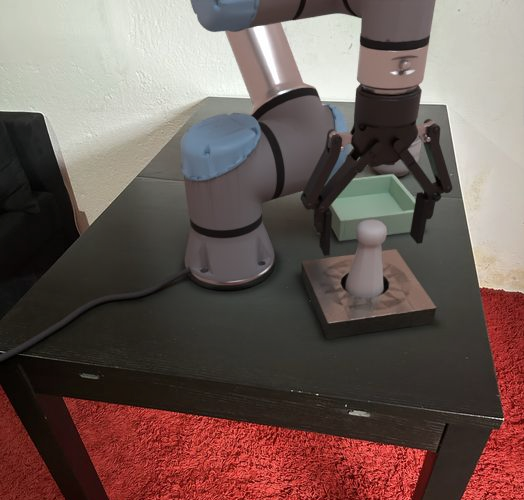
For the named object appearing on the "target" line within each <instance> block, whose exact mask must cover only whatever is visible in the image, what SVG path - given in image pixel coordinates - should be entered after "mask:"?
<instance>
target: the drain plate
mask: <svg viewBox="0 0 524 500" xmlns="http://www.w3.org/2000/svg"><path fill="white" fill-rule="evenodd" d="M355 254H356V253H355ZM355 254H348V255H340V256H331V257H323V258H316V259H308V260H301V265H300V266H301V268H300V278H301V280H302V283H303V284H304V287H305V290H306V292H307V294H308V297H309V300H310V301H311V304H312V306H313V309H314V311H315V313H316V316H317V319H318V321H319V323H320V325H321V328H322V331H323V333H324V335H325V338H326V340H331V339H337V338H343V337H345V338H346V337H350V336H357V335H363V334H364V335H365V334H370V333H371V334H372V333H377V332H385V331H391V330H397V329H404V328H410V327H413V328H414V327H418V326H419V327H420V326H426V325H433V323H434V319H435V315H436V311H437V306H436V305H435V304H434V302H433V301H432V298H430V296H429V294H428V293H427V292H426V290H425V289H424V287H423V286H422V285H421V283H420V282H419V280H418V279H417V277H416V276H415V274H414V273H413V271H412V270H411V269H410V267H409V266H408V264H407V263H406V261H405V260H404V258H403V257H402V256H401V253H399V251H398V250H397V249H396V248H393V249H386V250H382V267H383V288H384V290H383V292H382V294H381V295H379V296H377V297H370V298H365V297H357V296H355V295H352V294H349V293H348V292H347V291H346V289H345V285H346V280H347V277H348V274H349V271H350V268H351V265H352V262H353V260H354V257H355Z"/></svg>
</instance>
